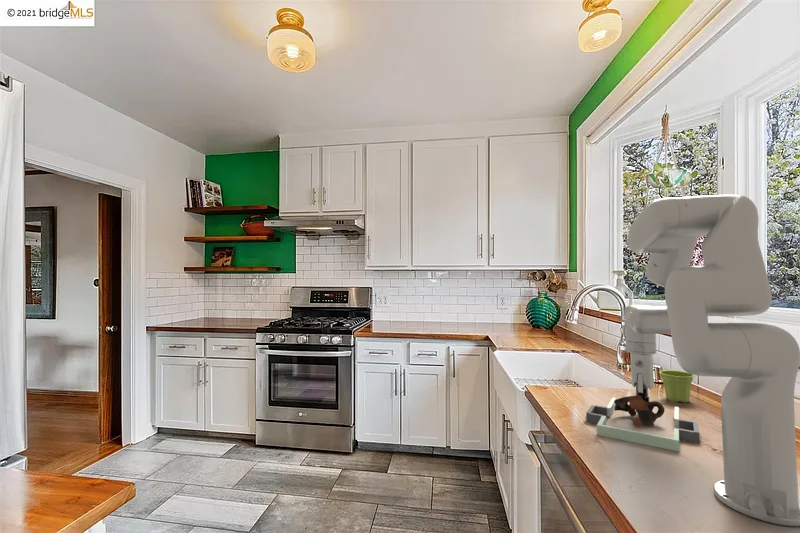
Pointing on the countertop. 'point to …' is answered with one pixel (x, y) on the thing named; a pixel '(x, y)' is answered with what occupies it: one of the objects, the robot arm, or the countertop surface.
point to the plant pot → (677, 385)
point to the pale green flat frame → (682, 431)
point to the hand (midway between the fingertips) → (642, 410)
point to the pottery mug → (640, 410)
